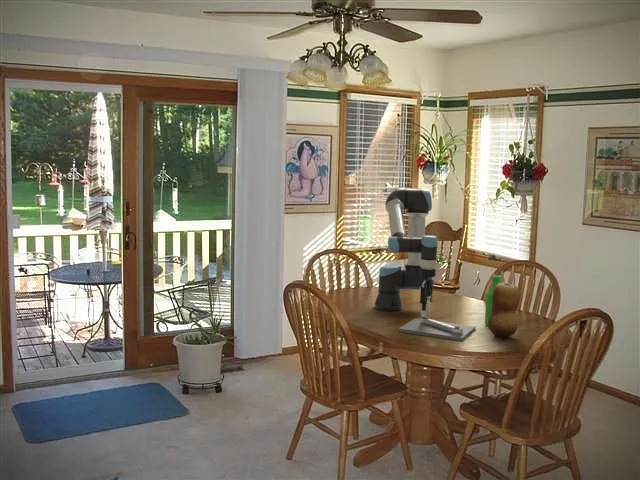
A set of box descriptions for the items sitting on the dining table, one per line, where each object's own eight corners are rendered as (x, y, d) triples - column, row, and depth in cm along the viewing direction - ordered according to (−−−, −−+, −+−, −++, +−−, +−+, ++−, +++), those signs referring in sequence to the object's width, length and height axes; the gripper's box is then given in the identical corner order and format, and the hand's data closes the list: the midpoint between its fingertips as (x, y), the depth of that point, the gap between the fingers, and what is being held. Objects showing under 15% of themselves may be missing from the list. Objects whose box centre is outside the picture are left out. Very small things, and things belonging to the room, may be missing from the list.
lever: (464, 333, 310) (466, 305, 309) (456, 334, 308) (458, 306, 306) (425, 320, 333) (427, 294, 331) (418, 321, 330) (419, 295, 328)
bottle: (492, 328, 330) (496, 277, 327) (480, 324, 337) (483, 274, 334) (506, 327, 334) (510, 276, 331) (494, 323, 341) (497, 273, 338)
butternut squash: (515, 342, 305) (519, 287, 302) (485, 338, 310) (488, 284, 307) (518, 335, 318) (521, 282, 315) (488, 331, 323) (492, 279, 320)
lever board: (398, 331, 318) (398, 327, 317) (415, 321, 340) (415, 317, 339) (462, 341, 305) (462, 337, 304) (475, 329, 326) (475, 325, 326)
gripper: (430, 271, 317) (427, 320, 320) (440, 266, 332) (437, 313, 335) (414, 269, 321) (412, 318, 323) (425, 265, 335) (423, 311, 338)
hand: (425, 316), depth 329 cm, fingers closed on lever, 4 cm apart
